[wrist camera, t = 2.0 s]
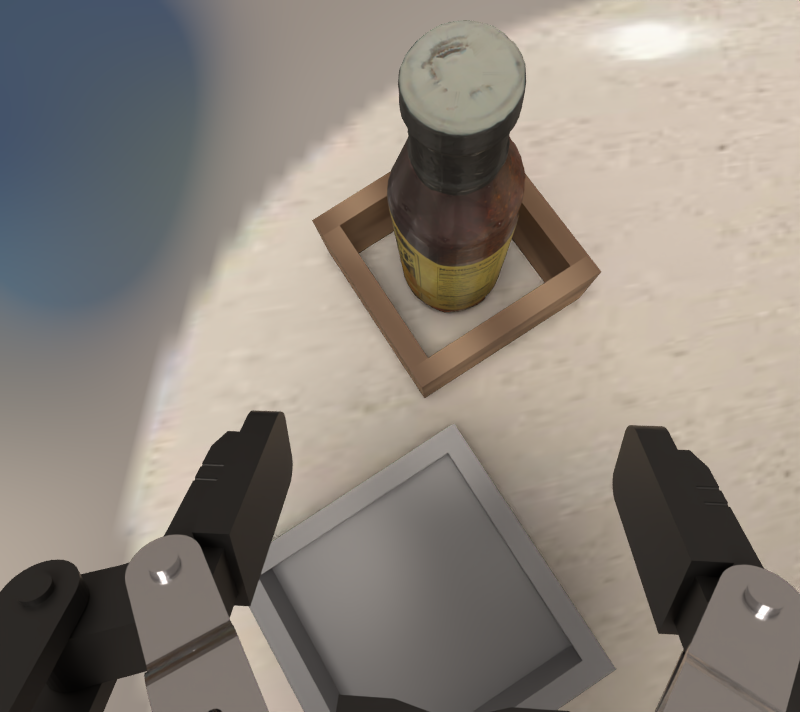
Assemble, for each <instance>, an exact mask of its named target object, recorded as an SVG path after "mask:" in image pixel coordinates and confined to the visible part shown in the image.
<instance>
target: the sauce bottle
mask: <svg viewBox="0 0 800 712" xmlns="http://www.w3.org/2000/svg"><path fill="white" fill-rule="evenodd" d="M525 86H526V69H525V62H524V60H523V57H522V54H521V52H520V51H519V49H518V47H517V46H516V44H515V43H514V42H513V41H511V40H510V39H509V38H508V37H507V36H506V35H505V34H504V33H503V32H501V31H500V30H498V29H497V28H495V27H494V26H491V25H488V24H485V23H481V22H475V21H468V20H463V21H456V22H449V23H446V24H441V25H439V26H438V27H436V28H434V29H432V30H431V31H429V32H427V33H426V34H425V35H423V36H422V37H421V38H420V39H419V40H418V41H416V42H415V44H414V45H413V46H412V47H411V48H410V50H409V51H408V52H407V54H406V56H405V58H404V60H403V63H402V66H401V67H400V70H399V79H398V87H399V105H400V112H401V116H402V119H403V121H404V123H405V124H406V126H407V128H408V135H409V136H408V139H407V141H406V143H405V145H404V147H403V148H402V150H401V152H400V154H399V156H398V158H397V160H396V162H395V164H394V166H393V168H392V170H391V173H390V176H389V179H388V185H387V199H388V205H389V210H390V215H391V219H392V223H393V228H394V232H395V236H396V241H397V245H398V250H399V254H400V259H401V263H402V267H403V271H404V276H405V279H406V281H407V283H408V285H409V287H410V288H411V290H412V291H413V293H414V294H415V296H417V297H418V298H420V299H421V300H422V301H423V302H425V303H426V304H427V305H429V306H431V307H433V308H435V309H437V310H440V311H443V312H451V311H459V310H464V309H467V308H469V307H471V306H474V305H477V304H478V303H480V302H481V301H483V300H484V299H485V296H486V295H487V294H488V293H489V292H490V291H491V289H492V288H493V287H494V285H495V283H496V281H497V279H498V276H499V273H500V270H501V267H502V264H503V262H504V259H505V256H506V253H507V250H508V247H509V244H510V242H511V239H512V236H513V233H514V230H515V227H516V224H517V221H518V217H519V213H518V211H519V208H520V206H521V203H522V201H523V195H524V190H525V189H524V187H525V178H526V175H525V172H524V167H523V164H522V160H521V156H520V154H519V151H518V149H517V147H516V145H515V143H514V142H512V140H511V139H510V137H509V134H510V131H511V130H512V129H513V128H514V126H515V124H516V122H517V120H518V118H519V115H520V111H521V108H522V103H523V98H524V93H525Z"/></svg>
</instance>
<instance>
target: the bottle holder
mask: <svg viewBox="0 0 800 712" xmlns="http://www.w3.org/2000/svg"><path fill="white" fill-rule="evenodd" d="M390 173H391V172H389V173H387V174H386V175H384V176H383V177H381V178H379V179H378V180H376V181H375V182H373V183H371V184H370V185H368V186H367V187H365V188H363V189H362V190H360V191H359V192H357V193H355V194H354V195H352V196H351V197H349V198H347V199H346V200H344V201H343V202H341V203H339V204H338V205H336V206H335V207H333V208H331V209H330V210H328V211H327V212H325V213H323V214H322V215H320V216H319V217H317V218H315V219H314V220H312V221H313V223H314V225H315V227H316V228H317V230H318V232H319V234H320V236H321V238H322V240H323V242H324V243H325V245H326V247H327V249H328V251H329V253H330V254H331V256H332V257H333V259H334V260H335V262H336V263H337V265H338V266H339V268H340V269H341V271H342V273H343V274H344V276H345V277H346V279H347V280H348V282H349V283H350V285H351V286H352V288H353V289H354V291H355V292H356V294H357V296H358V297H359V299H360V300H361V302H362V303H363V305H364V306H365V308H366V309H367V311H368V312H369V314H370V315H371V317H372V319H373V320H374V322H375V323H376V325H377V326H378V328H379V329H380V331H381V332H382V334H383V335H384V337H385V338H386V340H387V341H388V343H389V345H390V346H391V348H392V349H393V351H394V352H395V354H396V355H397V357H398V358H399V360H400V361H401V363H402V364H403V366H404V368H405V369H406V371H407V372H408V374H409V375H410V377H411V378H412V380H413V381H414V383H415V384H416V386H417V387H418V389H419V390H420V392H421V394H422V395H423V397H424V398H426V397H427V396H429V395H430V394H432V393H433V392H435V391H436V390H438V389H440V388H441V387H443V386H444V385H446V384H447V383H449V382H450V381H452V380H453V379H455V378H457V377H458V376H460V375H461V374H463V373H464V372H466V371H467V370H469V369H470V368H472V367H474V366H475V365H477V364H478V363H480V362H481V361H483V360H484V359H486V358H487V357H489V356H490V355H492V354H494V353H495V352H497V351H498V350H500V349H501V348H503V347H504V346H506V345H507V344H509V343H511V342H512V341H514V340H515V339H517V338H518V337H520V336H521V335H523V334H524V333H526V332H528V331H529V330H531V329H532V328H534V327H535V326H537V325H538V324H540V323H541V322H543V321H545V320H546V319H548V318H549V317H551V316H552V315H554V314H555V313H557V312H558V311H560V310H562V309H563V308H565V307H566V306H568V305H569V304H571V303H572V302H574V301H575V300H577V299H579V298H580V296H581V295H582V294H583V293H584V292H585V291H586V289H587V288H588V287H589V286H590V285H591V283H592V282H593V281H594V280H595V279H596V277H597V276H598V275H599V274H600V273H601V271H600V269H599V268H598V267H597V266H596V264H595V263H594V262H593V260H592V259H591V258H590V257H589V255H588V254H587V253H586V251H585V250H584V249H583V248H582V246H581V245H580V244H579V242H578V241H577V240H576V239H575V237H574V236H573V235H572V233H571V232H570V231H569V229H568V228H567V227H566V226H565V224H564V223H563V222H562V220H561V219H560V218H559V217H558V215H557V214H556V213H555V211H554V210H553V209H552V208H551V206H550V205H549V204H548V202H547V201H546V200H545V199H544V197H543V196H542V195H541V193H540V192H539V191H538V190H537V188H536V187H535V186H534V184H533V183H532V182H531V180H530V179H529V178H528V177H527V175H526V174H525V175H526V178H525V187H524V189H525V190H524V195H523V201H522V203H521V206H520V208H519V211H518V213H519V217H518V221H517V224H516V227H515V230H514V233H513V236H512V239H513V240H514V242H515V243H516V244H517V246H518V247H519V248H520V250H521V251H522V252H523V254H524V255H525V257H526V258H527V259H528V261H529V262H530V263H531V265H532V266H533V267H534V269H535V270H536V271H537V273H538V274H539V275H540V277H541V278H542V279H543V281H544V282H545V283H544V284H542V285H541V286H539V287H538V288H536V289H535V290H533V291H532V292H530V293H529V294H527V295H525V296H524V297H522V298H521V299H519V300H518V301H516V302H515V303H513V304H511V305H510V306H508V307H507V308H505V309H504V310H502V311H501V312H499V313H497V314H496V315H494V316H493V317H491V318H490V319H488V320H487V321H485V322H483V323H482V324H480V325H479V326H477V327H476V328H474V329H473V330H471V331H470V332H468V333H466V334H465V335H463V336H462V337H460V338H459V339H457V340H456V341H454V342H452V343H451V344H449V345H448V346H446V347H445V348H443V349H442V350H440V351H438V352H437V353H435V354H434V355H432V356H431V357H429V358H428V357H427V356H426V354H425V353H424V351H423V350H422V348H421V347H420V345H419V344H418V342H417V341H416V339H415V338H414V336H413V335H412V333H411V332H410V330H409V329H408V327H407V326H406V324H405V323H404V321H403V320H402V318H401V317H400V315H399V314H398V312H397V311H396V309H395V308H394V306H393V305H392V303H391V302H390V300H389V299H388V297H387V296H386V294H385V293H384V291H383V290H382V288H381V287H380V285H379V284H378V282H377V281H376V279H375V278H374V276H373V275H372V273H371V272H370V270H369V269H368V267H367V266H366V264H365V263H364V261H363V260H362V258H361V257H360V255H359V254H358V253H360V252H361V251H363V250H364V249H366V248H367V247H369V246H371V245H372V244H374V243H375V242H377V241H379V240H380V239H382V238H383V237H385V236H387V235H388V234H390V233H391V232H393V231H394V228H393V223H392V219H391V215H390V210H389V205H388V199H387V185H388V179H389V176H390Z"/></svg>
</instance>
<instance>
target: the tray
mask: <svg viewBox="0 0 800 712" xmlns="http://www.w3.org/2000/svg"><path fill="white" fill-rule="evenodd" d="M249 608H250V610H251V612H252V613H253V615H254V617H255V619H256V621H257V623H258V625H259V627H260V629H261V631H262V632H263V634H264V636H265V638H266V640H267V642H268V644H269V646H270V648H271V650H272V651H273V653H274V655H275V657H276V659H277V661H278V663H279V665H280V667H281V669H282V670H283V672H284V674H285V676H286V678H287V680H288V682H289V684H290V686H291V688H292V690H293V691H294V693H295V695H296V697H297V699H298V701H299V703H300V705H301V707H302V709H303V710H304V712H336V708H337V702H338V696H339V695H353V696H367V697H380V698H394V699H397V700H399V701H402V702H405V703H408V704H410V705H413V706H416V707H418V708H421V709H424V710H426V711H429V712H492V711H496V710H501V709H505V708H510V707H517V708H531V709H545V710H557V709H559V708H560V707H562V706H563V705H565V704H566V703H568V702H569V701H571V700H572V699H574V698H575V697H576V696H578V695H579V694H581V693H582V692H584V691H585V690H587V689H588V688H590V687H591V686H593V685H594V684H595V683H597V682H598V681H600V680H601V679H603V678H604V677H606V676H607V675H609V674H610V673H612V672H613V671H614V670H616V668H615V667H614V665H613V664H612V662H611V661H610V659H609V658H608V656H607V655H606V653H605V652H604V650H603V648H602V647H601V645H600V644H599V642H598V641H597V639H596V638H595V636H594V635H593V633H592V632H591V630H590V629H589V627H588V626H587V624H586V623H585V621H584V620H583V618H582V617H581V615H580V614H579V612H578V611H577V609H576V607H575V606H574V604H573V603H572V601H571V600H570V598H569V597H568V595H567V594H566V592H565V591H564V589H563V588H562V586H561V585H560V583H559V582H558V580H557V579H556V577H555V576H554V574H553V573H552V571H551V570H550V568H549V567H548V565H547V563H546V562H545V560H544V559H543V557H542V556H541V554H540V553H539V551H538V550H537V548H536V547H535V545H534V544H533V542H532V541H531V539H530V538H529V536H528V535H527V533H526V532H525V530H524V529H523V527H522V526H521V524H520V522H519V521H518V519H517V518H516V516H515V515H514V513H513V512H512V510H511V509H510V507H509V506H508V504H507V503H506V501H505V500H504V498H503V497H502V495H501V494H500V492H499V491H498V489H497V488H496V486H495V485H494V483H493V482H492V480H491V478H490V477H489V475H488V474H487V472H486V471H485V469H484V468H483V466H482V465H481V463H480V462H479V460H478V459H477V457H476V456H475V454H474V453H473V451H472V450H471V448H470V447H469V445H468V444H467V442H466V441H465V439H464V437H463V436H462V434H461V433H460V431H459V430H458V428H457V427H456V425H455V424H454V423H453V424H452V425H450V426H449V427H447V428H445V429H444V430H442V431H441V432H439V433H438V434H436V435H435V436H433V437H432V438H430V439H429V440H427V441H426V442H424V443H422V444H421V445H419V446H418V447H416V448H415V449H413V450H412V451H410V452H409V453H407V454H406V455H404V456H403V457H401V458H399V459H398V460H396V461H395V462H393V463H392V464H390V465H389V466H387V467H386V468H384V469H383V470H381V471H379V472H378V473H376V474H375V475H373V476H372V477H370V478H369V479H367V480H366V481H364V482H363V483H361V484H360V485H358V486H356V487H355V488H353V489H352V490H350V491H349V492H347V493H346V494H344V495H343V496H341V497H340V498H338V499H337V500H335V501H333V502H332V503H330V504H329V505H327V506H326V507H324V508H323V509H321V510H320V511H318V512H317V513H315V514H313V515H312V516H310V517H309V518H307V519H306V520H304V521H303V522H301V523H300V524H298V525H297V526H295V527H294V528H292V529H290V530H289V531H287V532H286V533H284V534H283V535H281V536H280V537H278V538H277V539H275V540H274V541H272V542H271V544H270V547H269V550H268V554H267V557H266V560H265V563H264V566H263V569H262V572H261V575H260V578H259V581H258V584H257V588H256V591H255V594H254V597H253V600H252V603H251V606H249Z"/></svg>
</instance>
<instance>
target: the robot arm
mask: <svg viewBox="0 0 800 712" xmlns="http://www.w3.org/2000/svg"><path fill="white" fill-rule="evenodd" d="M202 464H203V465H202V467H200V469H199V471H198V472H197V474H196V476H195V481H193V482H192V484H191V486H190V488H189V490H188V492H187V493H186V495H185V497H184V499H183V501H182V503H181V505H180V507H179V509H178V511H177V512H176V514H175V516H174V518H173V520H172V522H171V524H170V526H169V528H168V530H167V532H166V533H165V535H164V536H163V537H161V538H158V539H156V540H154V541H152V542H150V543H148V544H147V545H145V546H144V547H143V548H141V549H140V550H139V551H138V552H137V553H136V554H135V555H134V557H133V558H132V559H131V561H130V562H129V563H127V564H123V565H120V566H116V567H111V568H107V569H103V570H98V571H94V572H89V573H85V574H80V572H79V571H78V569H77V567H76V566H75V565H74V564H72V563H70V562H69V561H65V560H50V561H45V562H42V563H39V564H36V565H34V566H31V567H29V568H28V569H26V570H24V571H22V572H21V573H20V574H18V575H17V576H15V577H14V578H13V579H12V580H11V581H10V582H9V583H8V584H7V585H6V586H5V587H4V588H3V589H2V591H1V592H0V712H103V711H104V709H105V707H106V704H107V702H108V700H109V697H110V695H111V693H112V690H113V688H114V685H115V683H116V681H117V679H119V678H123V677H127V676H130V675H134V674H138V673H141V672H145V671H147V672H146V673H145V675H144V677H145V684H146V689H147V693H148V698H149V702H150V706H151V710H152V712H269V711H268V708H267V706H266V704H265V701H264V699H263V696H262V694H261V691H260V689H259V686H258V684H257V681H256V679H255V677H254V674H253V672H252V669H251V667H250V664H249V662H248V659H247V657H246V654H245V652H244V650H243V647H242V645H241V642H240V640H239V637H238V635H237V633H236V630H235V628H234V626H233V625H232V623H231V621H230V615H231V612H232V609H233V607H234V605H237V606H251V603H252V600H253V597H254V594H255V591H256V588H257V584H258V581H259V578H260V575H261V572H262V569H263V566H264V563H265V560H266V557H267V554H268V550H269V547H270V544H271V541H272V538H273V535H274V532H275V529H276V526H277V523H278V520H279V516H280V513H281V510H282V507H283V504H284V501H285V498H286V495H287V492H288V489H289V486H290V482H291V477H292V466H293V463H292V454H291V448H290V442H289V436H288V431H287V425H286V419H285V415H284V413H283V412H277V411H251V412H250V413H249V414H248V416H247V418H246V420H245V422H244V424H243V426H242V428H241V430H240V432H237V431H227V432H226V433H225V434H224V435H223V436H222V437H221V438H220V439H219V440H217V441H216V442H215V443H214V444H213V445H212V446H211V448H210V450H209V451H208V453H207V455H206V457H205V459H204V461H203V463H202ZM613 495H614V499H615V502H616V506H617V509H618V512H619V515H620V518H621V521H622V524H623V527H624V530H625V533H626V536H627V539H628V542H629V545H630V548H631V551H632V554H633V557H634V560H635V563H636V566H637V570H638V573H639V576H640V579H641V582H642V585H643V588H644V591H645V594H646V597H647V600H648V603H649V606H650V609H651V612H652V615H653V618H654V621H655V624H656V627H657V631H658V634H674V635H679V637H680V640H681V643H682V646H683V651H682V653H681V655H680V657H679V659H678V661H677V663H676V666H675V668H674V670H673V672H672V675H671V677H670V679H669V681H668V683H667V686H666V688H665V690H664V692H663V695H662V697H661V699H660V701H659V703H658V706H657V708H656V710H655V712H800V594H799V593H798V592H797V591H796V590H795V589H794V587H792V586H791V585H790V584H789V583H788V582H787V581H785V580H784V579H782V578H781V577H779V576H778V575H776V574H774V573H772V572H770V571H768V570H766V569H764V568H763V566H762V564H761V562H760V561H759V559H758V557H757V555H756V553H755V552H754V550H753V548H752V546H751V544H750V542H749V541H748V539H747V537H746V535H745V533H744V531H743V530H742V528H741V526H740V524H739V522H738V521H737V519H736V517H735V515H734V513H733V511H732V510H731V508H730V507H728V505H727V504H728V502H727V500H726V499H725V497H724V495H723V493H722V491H719V486H718V484H717V482H716V480H715V479H714V477H713V475H712V473H711V471H710V469H709V468H708V467H707V466H706V465H705V464H704V463H703V462H702V461H701V460H700V459H699V458H697V457H696V456H695V455H694V454H693V453H692V452H691V451H690V450H677V448H676V446H675V444H674V442H673V440H672V438H671V436H670V434H669V432H668V430H667V429H666V428H665V427H663V426H636V425H630V426H628V427H627V429H626V431H625V434H624V438H623V441H622V445H621V448H620V452H619V455H618V459H617V462H616V466H615V469H614V473H613ZM336 712H429V711H426V710H424V709H421V708H418V707H416V706H413V705H410V704H408V703H405V702H402V701H399V700H397V699H394V698H380V697H367V696H353V695H339V696H338V702H337V708H336ZM492 712H569V711H558V710H545V709H531V708H517V707H510V708H505V709H501V710H496V711H492Z"/></svg>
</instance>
